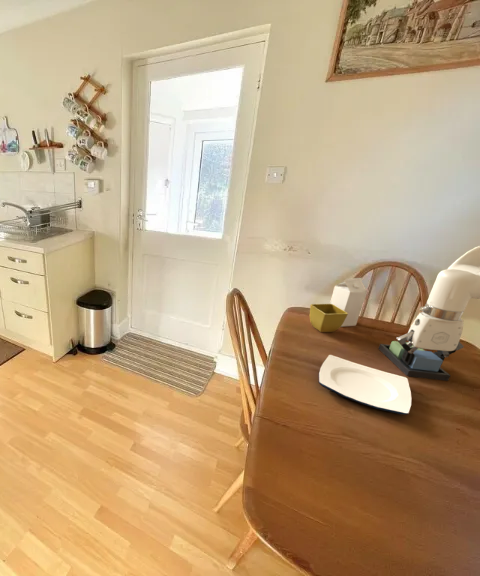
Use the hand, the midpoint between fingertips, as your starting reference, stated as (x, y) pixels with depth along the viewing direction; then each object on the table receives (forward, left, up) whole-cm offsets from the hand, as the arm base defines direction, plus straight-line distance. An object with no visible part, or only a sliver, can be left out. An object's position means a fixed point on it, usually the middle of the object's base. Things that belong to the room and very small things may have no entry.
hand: (420, 363), depth 96 cm
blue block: (0, 0, -1) cm, 1 cm away
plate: (+21, +13, -3) cm, 25 cm away
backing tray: (0, -4, -2) cm, 4 cm away
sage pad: (0, -7, -2) cm, 7 cm away
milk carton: (+9, -31, -3) cm, 32 cm away
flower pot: (+18, -23, -3) cm, 29 cm away
